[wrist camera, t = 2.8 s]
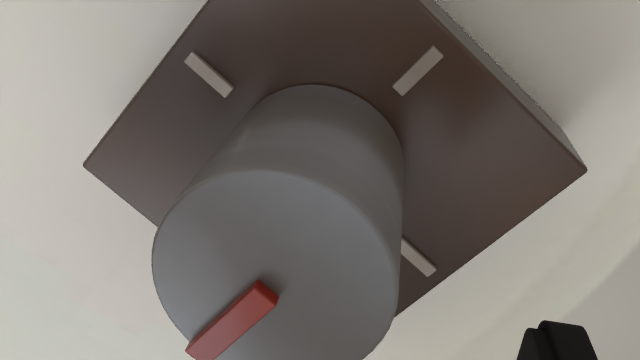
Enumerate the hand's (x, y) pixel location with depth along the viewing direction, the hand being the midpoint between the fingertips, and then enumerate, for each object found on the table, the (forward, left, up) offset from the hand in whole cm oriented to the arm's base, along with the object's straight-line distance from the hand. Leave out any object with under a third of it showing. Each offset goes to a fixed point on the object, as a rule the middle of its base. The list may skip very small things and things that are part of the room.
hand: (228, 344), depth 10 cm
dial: (0, 0, -7) cm, 7 cm away
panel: (0, 0, -10) cm, 10 cm away
